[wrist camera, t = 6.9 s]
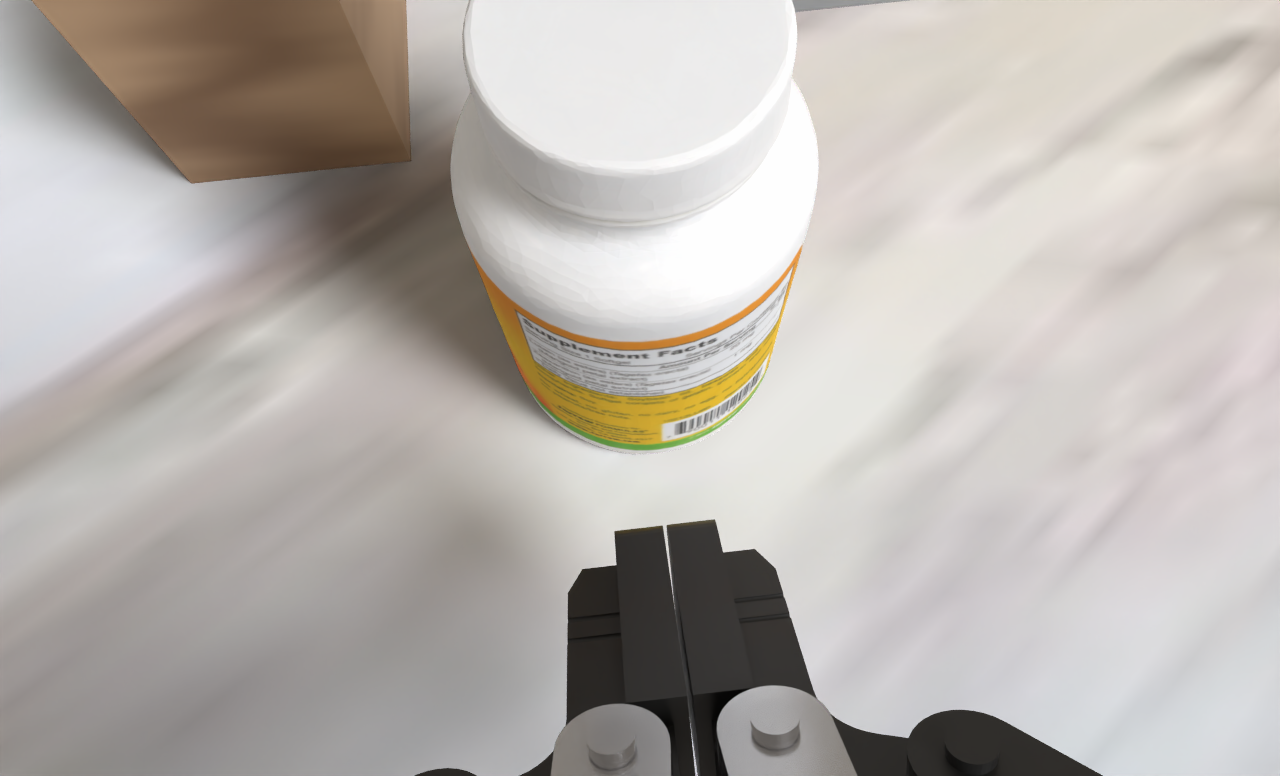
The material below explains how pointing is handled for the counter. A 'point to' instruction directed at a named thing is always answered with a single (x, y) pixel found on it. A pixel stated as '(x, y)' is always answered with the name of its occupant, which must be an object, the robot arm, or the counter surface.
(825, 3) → the slate three pip block
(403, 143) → the walnut two pip block
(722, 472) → the counter surface
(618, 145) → the supplement bottle
